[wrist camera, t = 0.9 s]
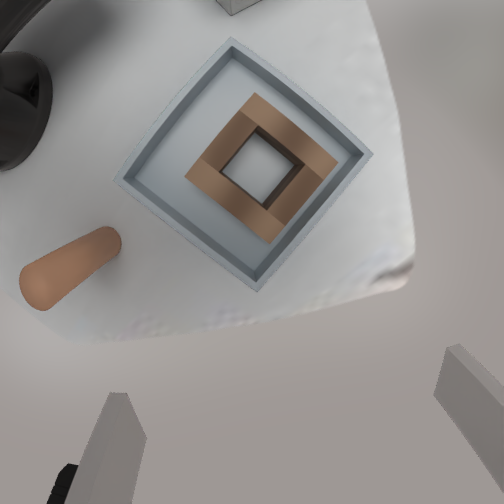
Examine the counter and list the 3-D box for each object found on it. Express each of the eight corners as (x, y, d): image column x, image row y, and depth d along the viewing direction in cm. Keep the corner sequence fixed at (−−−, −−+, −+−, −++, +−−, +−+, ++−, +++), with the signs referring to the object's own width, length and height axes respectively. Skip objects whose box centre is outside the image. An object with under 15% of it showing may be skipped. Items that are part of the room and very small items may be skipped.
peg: (88, 244, 32) (14, 289, 18) (102, 219, 31) (28, 254, 18) (111, 264, 32) (46, 319, 19) (127, 239, 32) (62, 285, 18)
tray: (127, 178, 30) (112, 180, 26) (231, 51, 27) (230, 36, 23) (254, 278, 33) (257, 292, 30) (358, 155, 30) (373, 153, 27)
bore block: (193, 175, 30) (184, 176, 25) (252, 105, 28) (254, 92, 23) (264, 231, 32) (269, 244, 26) (322, 163, 30) (338, 162, 25)
